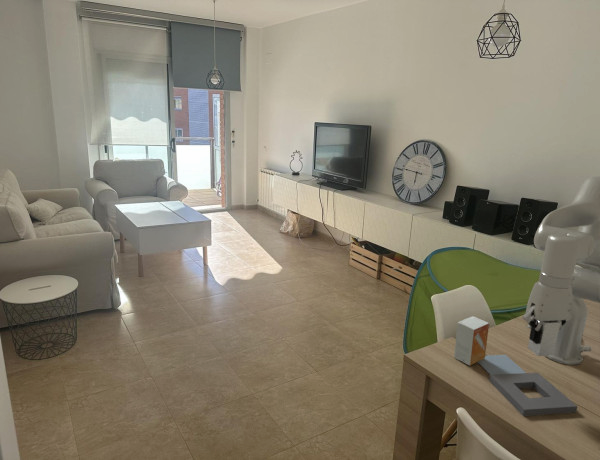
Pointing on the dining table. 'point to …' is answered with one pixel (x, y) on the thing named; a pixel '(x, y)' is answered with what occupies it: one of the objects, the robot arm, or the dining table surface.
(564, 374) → the dining table surface
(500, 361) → the blue pad
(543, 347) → the steel plug
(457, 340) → the small box
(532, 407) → the socket block
